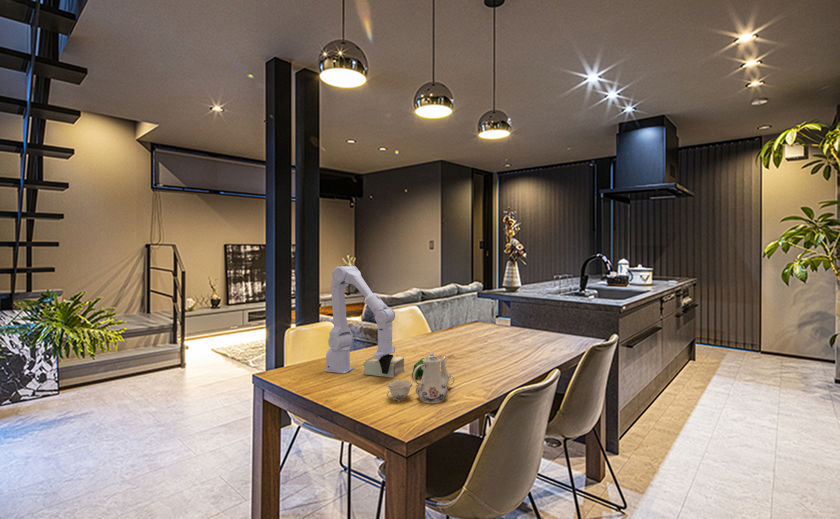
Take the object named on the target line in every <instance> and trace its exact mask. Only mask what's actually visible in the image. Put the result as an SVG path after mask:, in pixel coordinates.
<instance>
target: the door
mask: <svg viewBox="0 0 840 519" xmlns="http://www.w3.org/2000/svg"><path fill="white" fill-rule="evenodd" d="M363 367H364V369H363V374H364V375H367V376H375V377H377V376H378V377H384V378H385V377H386V378H392V379H393V378H395V377H394V376H395V366H394V364H390V366H389V371H388V374H383V373H382V369H381V365H380V363H375V362H365V361H364V362H363Z"/></svg>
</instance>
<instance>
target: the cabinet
mask: <svg viewBox="0 0 840 519" xmlns="http://www.w3.org/2000/svg"><path fill="white" fill-rule="evenodd" d="M364 362H375V363H379V361H378V360H376V359H374V355H373V356H371V357H369V358H368V359H366V360H365V361H364ZM390 364H394V366H395V376H394V378H396V377H397V376H398V375H400V374H401V373H403V372H404V371H405V357H404V356H394V355H393V358H392V360H391V362H390Z"/></svg>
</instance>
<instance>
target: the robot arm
mask: <svg viewBox="0 0 840 519" xmlns="http://www.w3.org/2000/svg"><path fill="white" fill-rule="evenodd" d="M349 284H350V285H353V286H354V287H355V288H356V289H357V290H358V291H359V293H361V295H362V296H363V297H364V298H365V303H366V305H367V307H368V308H369V309H370V310H371V312H372V313H373V315H374V321H375V322H376V327H377V350H376V352H375V353H374V355H373V356H374V359H376V360H378V361H379V363H380V365H381V369H382V373H383V374H388V371H389V366H390V362H391V360H392V358H393V356H394V355H393V354H395V353H396V346H393V321H394V320H395V318H396V314H395V313H396V312H395V311H394V309H393V308H392V307H390V306H388V305H387V304H386V303H385V302H384V300H382V298H381V295H380V294H378V293H376V292H375V293H373V291H372V290H371V288H370V287H369V286H368V284H367V283H366V281H365V279H364V278H363V277H362V274H361V271H360V270H359V268H358V267H357V266H355V265H345V266H344V265H343V266H341V265H340V266H336V267H335V268H334V269H333V270H332V271H331V282H330V294H331V306H332V307H331V308H332V319H333V320H332V322H333V323H332V324H333V327H332V328H331V330H330V332H329V338H328V342H327V343H328V347H329V349H328V350H327V351H326V355H325V372H327V373H335V374H336V373H338V374H346V373H348V372H350V371H352V370H353V369H354V367H353V366H351V356H350V355H351V346H352V345H353V344H354V335H353V333H352V329H351V327H350V326H348V322H347V321H348V320H347V319H348V318H347V305H346V294H345V293H346V292H345V289H346V287H347V286H348V285H349Z"/></svg>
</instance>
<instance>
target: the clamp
mask: <svg viewBox="0 0 840 519" xmlns="http://www.w3.org/2000/svg"><path fill="white" fill-rule="evenodd" d="M424 358H425V357H422V358H420V360H418V361H417V362H416V363H415V364H414V366H413V368H412V374H411V378H412V379H413V372H414V370H415V368H416V367H417V366H418V365H421V364H423V361H422V359H424ZM421 367H422V366H421ZM421 367H419V368H418V370H417V371H416V374H415V379H416V380H418V379H419V378H420V377H421V378H422V376H423V370H422V369H421ZM423 367H424V366H423Z"/></svg>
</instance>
